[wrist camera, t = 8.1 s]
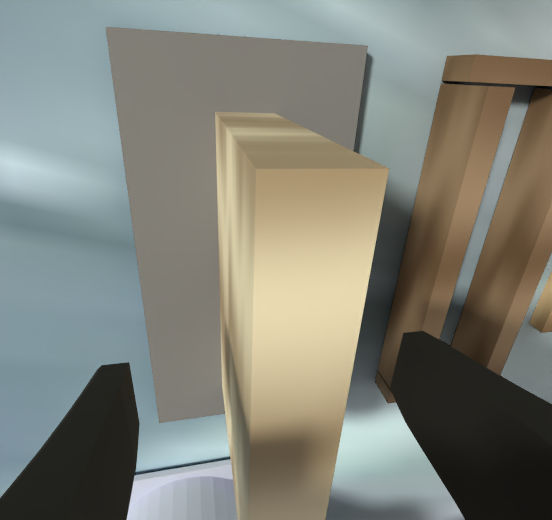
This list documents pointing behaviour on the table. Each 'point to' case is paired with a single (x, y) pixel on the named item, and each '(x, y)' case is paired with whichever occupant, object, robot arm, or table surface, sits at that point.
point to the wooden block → (289, 304)
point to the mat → (206, 174)
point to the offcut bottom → (544, 310)
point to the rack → (463, 210)
